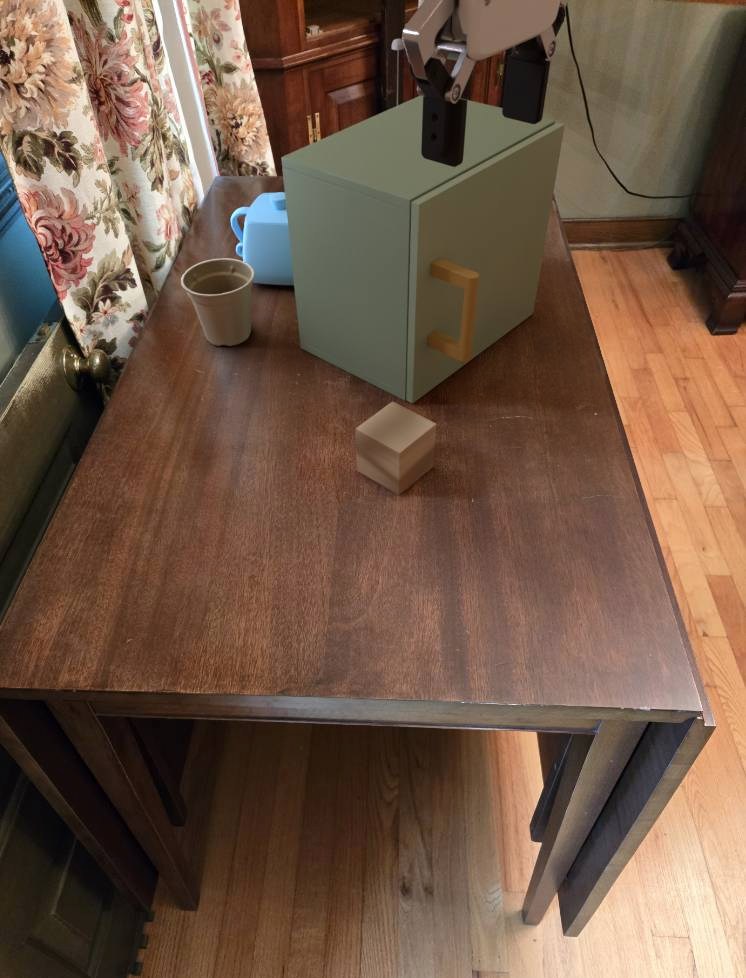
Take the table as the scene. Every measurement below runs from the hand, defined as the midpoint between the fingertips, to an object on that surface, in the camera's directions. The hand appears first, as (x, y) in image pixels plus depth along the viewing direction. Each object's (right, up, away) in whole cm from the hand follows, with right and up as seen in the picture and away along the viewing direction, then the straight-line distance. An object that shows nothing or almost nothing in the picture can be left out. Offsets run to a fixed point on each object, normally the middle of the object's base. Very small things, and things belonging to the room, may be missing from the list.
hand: (483, 139), depth 52 cm
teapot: (-17, +12, +58) cm, 62 cm away
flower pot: (-26, -1, +47) cm, 54 cm away
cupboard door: (+9, -6, +40) cm, 41 cm away
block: (-4, -21, +27) cm, 35 cm away
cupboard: (0, 0, +46) cm, 46 cm away
